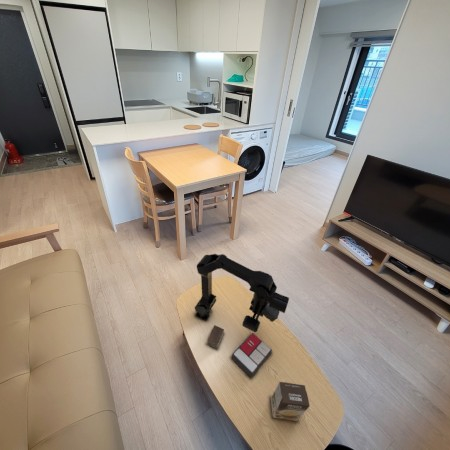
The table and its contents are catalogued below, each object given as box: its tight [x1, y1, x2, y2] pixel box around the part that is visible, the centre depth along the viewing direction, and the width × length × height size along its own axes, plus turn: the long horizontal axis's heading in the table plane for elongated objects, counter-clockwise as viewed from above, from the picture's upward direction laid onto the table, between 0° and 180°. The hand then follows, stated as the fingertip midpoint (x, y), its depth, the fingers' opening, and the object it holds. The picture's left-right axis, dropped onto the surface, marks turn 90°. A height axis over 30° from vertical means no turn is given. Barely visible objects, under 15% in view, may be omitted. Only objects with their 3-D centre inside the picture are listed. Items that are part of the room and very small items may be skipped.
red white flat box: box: [231, 332, 273, 379], centre depth 103 cm, size 11×4×15 cm
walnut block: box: [207, 324, 225, 350], centre depth 109 cm, size 5×8×4 cm, turn 155°
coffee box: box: [270, 381, 310, 422], centre depth 84 cm, size 9×6×16 cm
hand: (254, 320), depth 103 cm, fingers open, 9 cm apart
